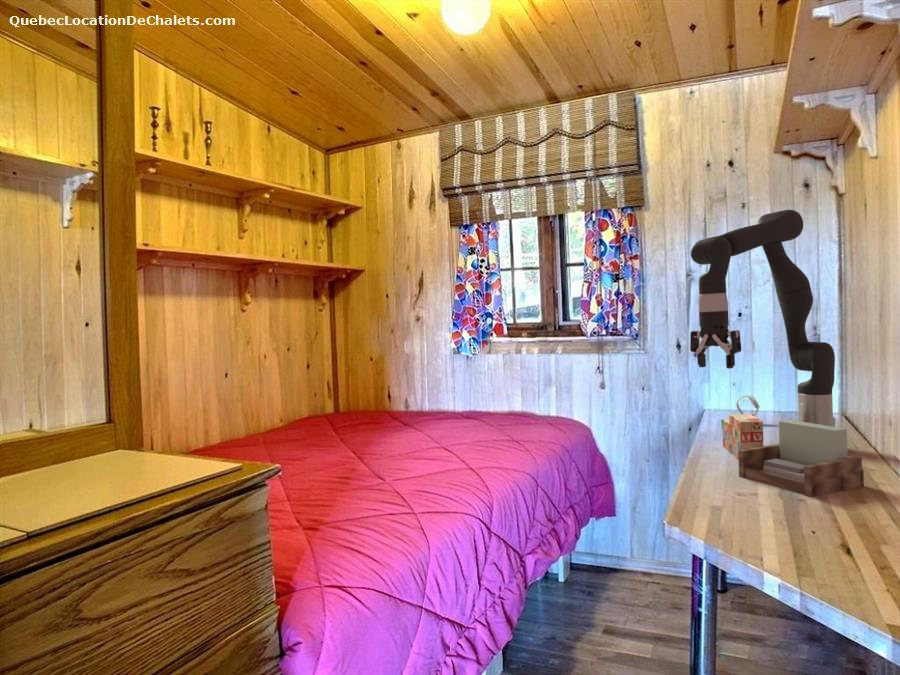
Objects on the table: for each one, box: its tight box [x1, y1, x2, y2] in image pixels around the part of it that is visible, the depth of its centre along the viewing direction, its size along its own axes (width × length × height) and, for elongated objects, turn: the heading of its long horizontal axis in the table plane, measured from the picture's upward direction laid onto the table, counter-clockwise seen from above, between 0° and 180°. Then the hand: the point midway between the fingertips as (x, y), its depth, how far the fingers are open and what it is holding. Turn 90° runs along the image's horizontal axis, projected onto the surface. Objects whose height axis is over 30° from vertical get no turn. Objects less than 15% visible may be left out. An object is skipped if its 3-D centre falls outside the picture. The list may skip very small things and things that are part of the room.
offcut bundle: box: [762, 459, 806, 482], centre depth 152 cm, size 5×15×5 cm, turn 20°
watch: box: [735, 394, 760, 417], centre depth 229 cm, size 6×8×11 cm
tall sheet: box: [778, 419, 849, 465], centre depth 155 cm, size 4×16×14 cm, turn 20°
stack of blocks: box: [721, 413, 764, 461], centre depth 183 cm, size 21×6×12 cm, turn 169°
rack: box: [737, 443, 865, 497], centre depth 153 cm, size 18×21×7 cm
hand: (715, 367), depth 167 cm, fingers open, 8 cm apart
